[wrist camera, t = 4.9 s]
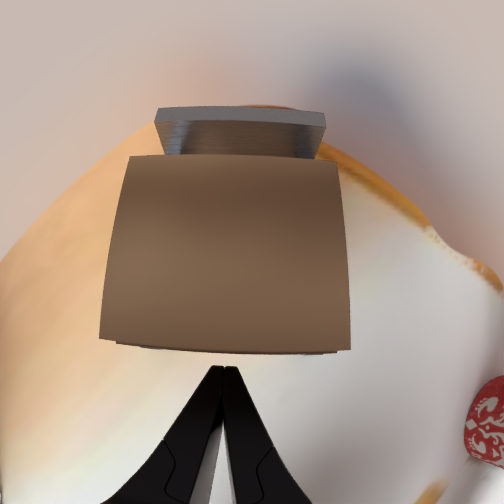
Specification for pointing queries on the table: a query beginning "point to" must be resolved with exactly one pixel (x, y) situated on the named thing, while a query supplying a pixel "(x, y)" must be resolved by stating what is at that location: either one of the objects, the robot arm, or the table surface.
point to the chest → (228, 256)
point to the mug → (487, 424)
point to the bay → (240, 132)
